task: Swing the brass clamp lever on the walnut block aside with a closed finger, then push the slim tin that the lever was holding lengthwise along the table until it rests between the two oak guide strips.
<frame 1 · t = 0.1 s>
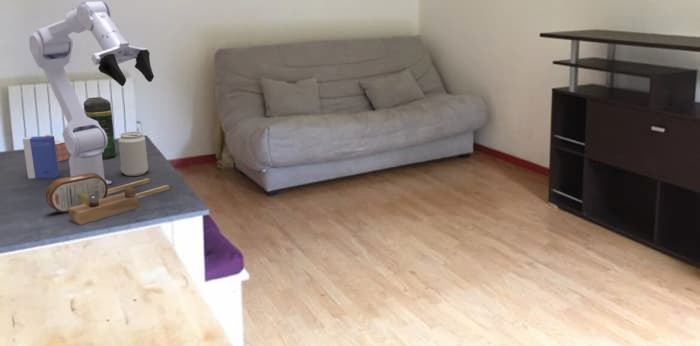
hand: (137, 81, 167), 32 cm above the worktop, tool tilted 50°, fingers open, 7 cm apart
brass lever: (88, 198, 170), point 4 cm above the worktop, hinge at 0.0°
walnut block: (105, 213, 172), on the worktop
coffee jar: (102, 156, 222), on the worktop
puzzle toy: (55, 160, 218), on the worktop
oak guide strips: (134, 192, 188), on the worktop
can: (135, 173, 204), on the worktop
tin: (80, 209, 176), on the worktop
walkman: (44, 177, 201), on the worktop
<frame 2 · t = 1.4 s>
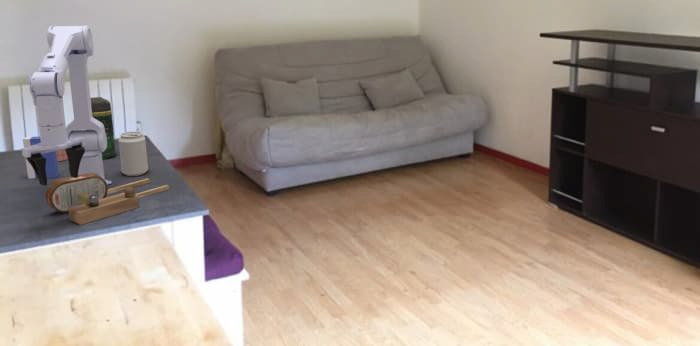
hand: (59, 180, 164), 10 cm above the worktop, tool pointing down, fingers open, 7 cm apart
nothing on the worktop moved.
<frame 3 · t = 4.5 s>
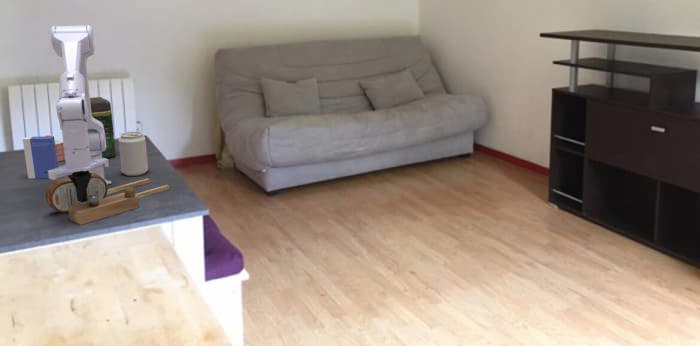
hand: (83, 200, 170), 4 cm above the worktop, tool pointing down, fingers closed, pressing on brass lever
brass lever: (88, 198, 170), point 4 cm above the worktop, hinge at 0.6°, touching gripper
everything else where it was.
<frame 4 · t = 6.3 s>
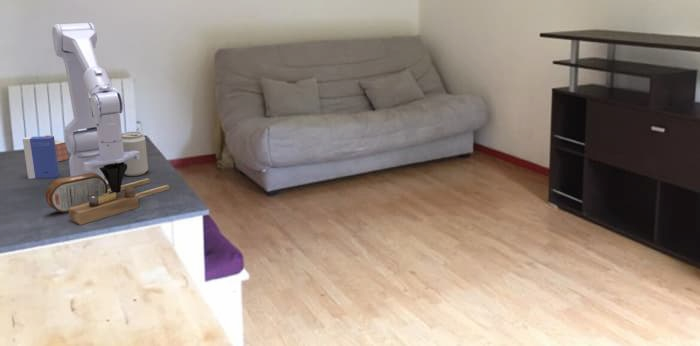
hand: (115, 191, 177), 4 cm above the worktop, tool pointing down, fingers closed
brass lever: (102, 197, 170), point 4 cm above the worktop, hinge at 83.8°
everything else where it was.
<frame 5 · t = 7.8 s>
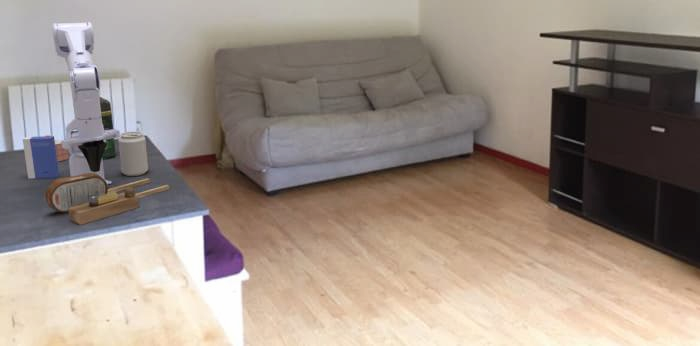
hand: (95, 170, 172), 10 cm above the worktop, tool pointing down, fingers closed
brass lever: (102, 198, 170), point 4 cm above the worktop, hinge at 90.5°
everything else where it was.
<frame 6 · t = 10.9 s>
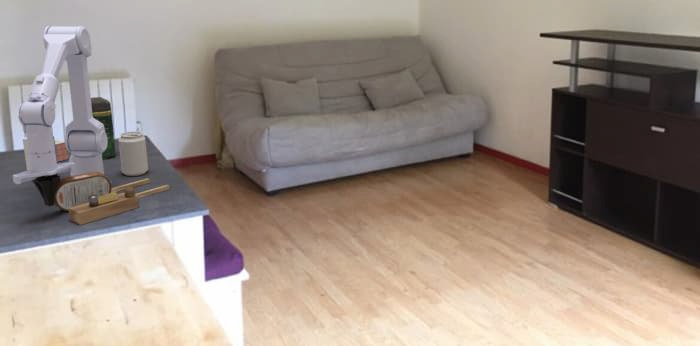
hand: (49, 205, 170), 3 cm above the worktop, tool pointing down, fingers closed
brass lever: (102, 198, 170), point 4 cm above the worktop, hinge at 92.1°
tin: (84, 207, 177), on the worktop, touching gripper
everything else where it was.
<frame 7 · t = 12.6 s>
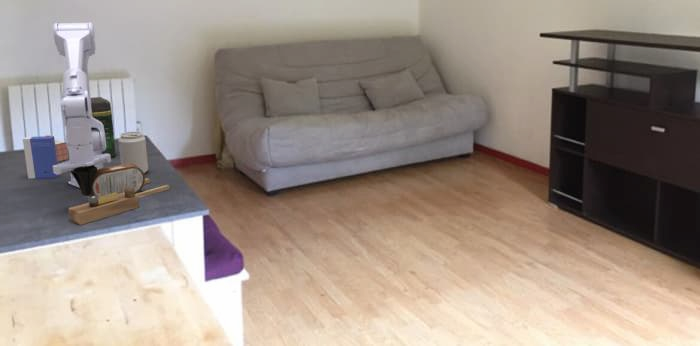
hand: (86, 194, 177), 3 cm above the worktop, tool pointing down, fingers closed
tin: (118, 197, 184), on the worktop, touching gripper
everything else where it was.
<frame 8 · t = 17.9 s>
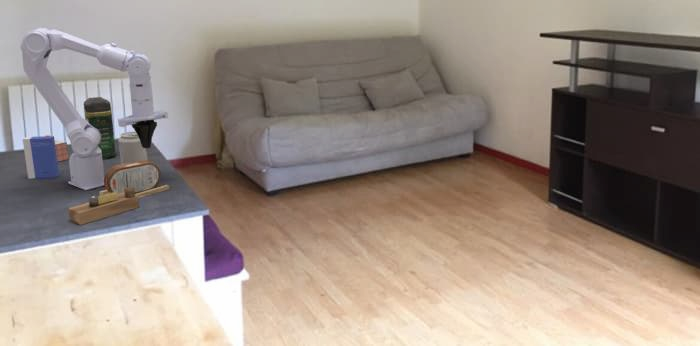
hand: (146, 147, 194), 10 cm above the worktop, tool pointing down, fingers closed
tin: (134, 193, 187), on the worktop
everything else where it was.
at the end: brass lever at +92° (first picture: +0°); tin inside the target area on the oak guide strips (0.5 cm from its centre), point 0.0 cm above the oak guide strips's base; tin tilted 0° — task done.
